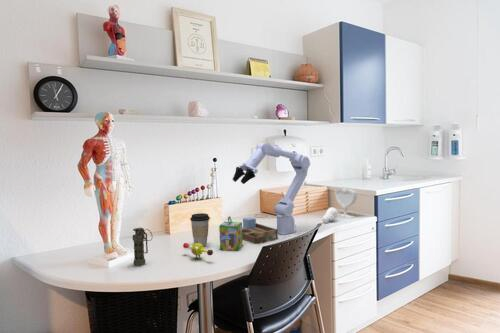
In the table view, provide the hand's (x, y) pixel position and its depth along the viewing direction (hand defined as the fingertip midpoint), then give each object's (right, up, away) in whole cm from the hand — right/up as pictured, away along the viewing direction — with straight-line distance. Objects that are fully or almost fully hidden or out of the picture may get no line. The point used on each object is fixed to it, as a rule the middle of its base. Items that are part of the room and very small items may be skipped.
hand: (237, 181), depth 171 cm
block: (+6, -26, +17) cm, 31 cm away
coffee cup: (-18, -31, -5) cm, 36 cm away
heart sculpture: (+70, -25, +57) cm, 93 cm away
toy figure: (-17, -32, -24) cm, 43 cm away
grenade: (-38, -33, -30) cm, 59 cm away
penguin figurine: (+55, -27, +40) cm, 73 cm away
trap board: (+8, -29, +9) cm, 32 cm away
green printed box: (-3, -31, -9) cm, 32 cm away
